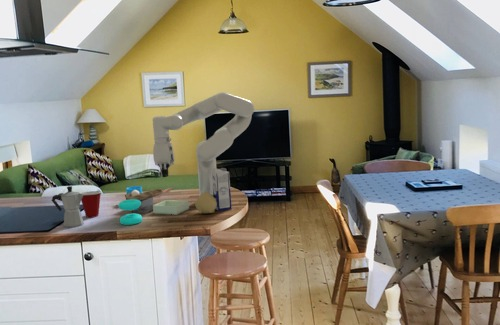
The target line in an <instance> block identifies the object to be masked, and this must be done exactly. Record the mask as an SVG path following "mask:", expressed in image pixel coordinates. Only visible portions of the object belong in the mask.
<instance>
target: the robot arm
mask: <svg viewBox="0 0 500 325" xmlns="http://www.w3.org/2000/svg"><path fill="white" fill-rule="evenodd" d="M221 111H225V112H228V113H231V114H233V115H234V117H233V118H231V120H229V121H228V122H227V123H226V124H224V125H223V126H222V127H220V128H219V129H217V130H216V131H215V132H214V133H213V135H212V136H210V137H209V138H208V139H207V140H202V141H200V142H199V143H198V144H197V146H196V149H195V150H196V151H195V153H196V160H197V162H196V163H197V174H198V175H197V176H198V177H197V178H198V188H199V189H198V190H199V191H198V192H199V196H200V195H201V194H202V193H203V192H208V193H210V194H212V195H213V184H212V170H211V168H214V169H217V157H219V156H220V155H221V154H222V153H224V152H225V151H226V150H228V149H229V148H230V147H231V146H232V145H233V143H234V140H235V139H237V137H239V136H240V135H241V134H242V133H243V132H244V131H246V130H247V128H248V127H249V125H250V124H251V121H252V115H253V114H254V112H255V105H254V103H252V101H251V100H248V99H246V98H242V97H239V96H236V95H233V94H230V93H228V92H223V91H222V92H218V93H216V94H213V95H212V96H210V97H207V98H205V99H203V100H201V101H199V102H197V103H194V104H193V105H191V106H188V107H187V108H184V109H182V110H181V111H178V112H176V113H173V114H172V115H169V116H165V115H160V116H159V115H158V116H154V117H153V118H152V129H153V130H152V131H153V139H154V144H153V150H152V152H153V153H152V154H153V162H154V165H155V166H156V167H157V166H158V167H159V168H160V170H161V177H162V178H167V177H169V169H170V167H171V166H173V165H175V163H174V162H175V160H176V159H175V152H174V148H173V145H172V138H170V131H178V130H180V129H182V128H183V126H187V125H188V124H191V123H192V122H195V121H199V120H204V119H207V118H208V117H210V116H211V117H212V116H213V115H215V114H217V113H219V112H221Z"/></svg>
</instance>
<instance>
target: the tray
mask: <svg viewBox="0 0 500 325" xmlns="http://www.w3.org/2000/svg"><path fill="white" fill-rule="evenodd" d="M188 210H190V202H189V201H188V200H173V199H171V200H170V199H164V200H162V201H161V202H158V203H155V204H153V210H152V211H153V214H155V215H170V216H171V214H172V215H173V216H177V215H180V214H181V213H184V212H186V211H188Z"/></svg>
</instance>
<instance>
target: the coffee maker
mask: <svg viewBox="0 0 500 325" xmlns="http://www.w3.org/2000/svg"><path fill="white" fill-rule="evenodd" d="M66 189H67V192H65V193H62V192H60V193H58V194H55V195H53V196H52V198H51V201H52V202H51V203H53V205H55V206H56V208H57V210H58V211H59V212H61V211H62V207H63V209H64V212H63V213H64V214H63V227H64V228H67V229H69V228H76V227H81V226H83V225H84V224H85V222H84V219H83V215H82V212H81V210H80V208H81V203H82V201H81V200H82V197H83V195H84V194H80V193H81V192H79V191H73V186H72V185H70V186H66ZM56 200H57V201H61V203H62V207H61V206H60V204H58V202H57V201H56Z"/></svg>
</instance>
